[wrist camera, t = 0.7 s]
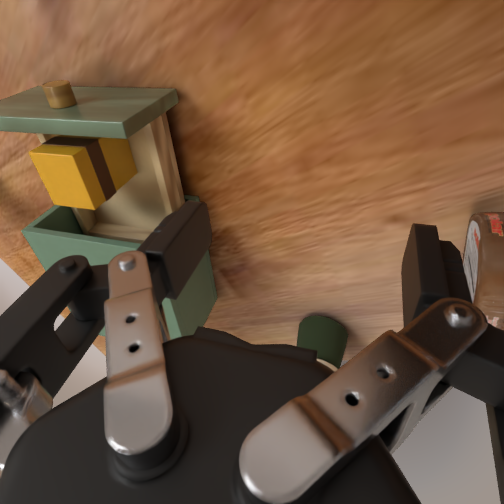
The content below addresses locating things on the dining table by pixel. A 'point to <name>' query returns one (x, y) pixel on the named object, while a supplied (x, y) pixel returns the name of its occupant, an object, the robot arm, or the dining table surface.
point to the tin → (486, 264)
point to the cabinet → (104, 250)
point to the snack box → (83, 169)
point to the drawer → (110, 126)
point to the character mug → (323, 339)
